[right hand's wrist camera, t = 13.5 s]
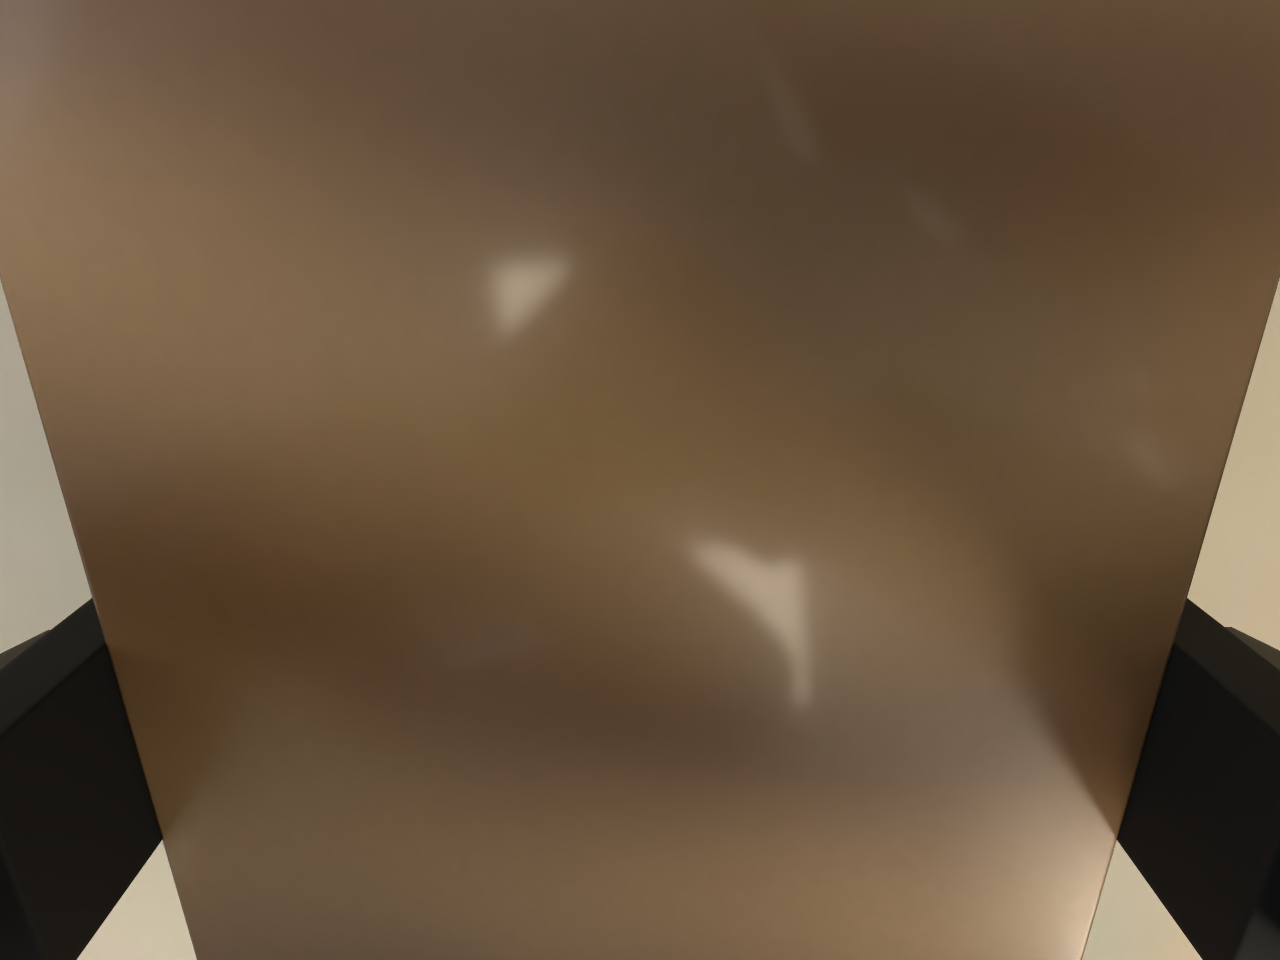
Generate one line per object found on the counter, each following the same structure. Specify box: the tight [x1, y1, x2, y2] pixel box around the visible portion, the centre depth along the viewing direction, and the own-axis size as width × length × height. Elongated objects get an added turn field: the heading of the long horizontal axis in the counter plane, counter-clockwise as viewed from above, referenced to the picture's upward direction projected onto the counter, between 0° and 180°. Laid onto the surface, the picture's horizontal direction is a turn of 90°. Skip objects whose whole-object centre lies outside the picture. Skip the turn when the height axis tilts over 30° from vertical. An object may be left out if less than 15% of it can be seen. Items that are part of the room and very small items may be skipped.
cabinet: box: [0, 0, 1280, 960], centre depth 10 cm, size 21×11×8 cm, turn 0°
